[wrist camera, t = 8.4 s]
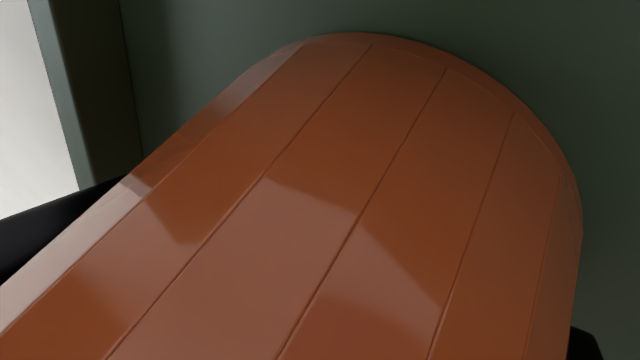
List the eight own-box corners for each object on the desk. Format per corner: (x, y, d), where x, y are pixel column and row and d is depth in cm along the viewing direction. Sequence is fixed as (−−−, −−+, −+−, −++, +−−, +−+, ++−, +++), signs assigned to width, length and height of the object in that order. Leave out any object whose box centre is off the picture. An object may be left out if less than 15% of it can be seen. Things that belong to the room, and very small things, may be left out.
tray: (156, 241, 17) (107, 294, 15) (81, -232, 9) (-37, -220, 7) (696, 485, 13) (702, 589, 11) (1387, 34, 5) (1700, 170, 4)
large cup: (225, 255, 15) (9, 528, 10) (215, -21, 10) (-240, 257, 5) (504, 378, 13) (410, 793, 8) (673, 116, 8) (704, 814, 3)
